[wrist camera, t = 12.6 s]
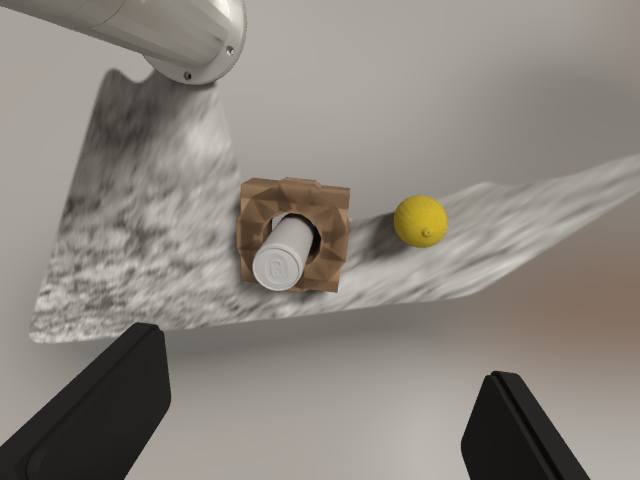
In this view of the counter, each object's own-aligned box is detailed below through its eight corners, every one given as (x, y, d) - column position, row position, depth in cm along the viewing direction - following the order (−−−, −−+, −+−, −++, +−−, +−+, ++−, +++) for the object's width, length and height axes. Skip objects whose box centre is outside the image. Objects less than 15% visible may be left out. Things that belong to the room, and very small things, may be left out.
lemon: (433, 232, 38) (453, 259, 31) (388, 232, 39) (397, 258, 31) (438, 188, 36) (461, 205, 29) (391, 188, 37) (401, 205, 29)
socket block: (248, 172, 38) (235, 179, 33) (354, 184, 37) (355, 192, 33) (248, 268, 42) (236, 283, 38) (341, 279, 42) (341, 296, 37)
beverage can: (280, 246, 41) (254, 292, 29) (276, 211, 39) (247, 246, 28) (316, 246, 40) (303, 292, 29) (314, 210, 39) (299, 245, 27)
